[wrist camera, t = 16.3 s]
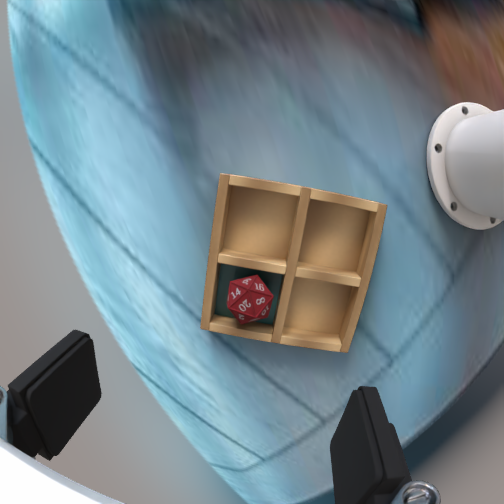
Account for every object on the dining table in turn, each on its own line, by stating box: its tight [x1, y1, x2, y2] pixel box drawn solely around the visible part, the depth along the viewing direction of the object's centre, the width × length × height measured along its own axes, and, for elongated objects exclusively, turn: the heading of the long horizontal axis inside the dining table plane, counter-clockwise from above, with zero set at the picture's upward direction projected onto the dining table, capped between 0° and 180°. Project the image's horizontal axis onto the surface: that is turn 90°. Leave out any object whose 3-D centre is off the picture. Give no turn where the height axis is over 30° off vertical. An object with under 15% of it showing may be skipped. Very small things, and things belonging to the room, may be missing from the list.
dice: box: [226, 275, 274, 325], centre depth 26 cm, size 4×4×4 cm
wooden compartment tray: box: [200, 173, 387, 353], centre depth 26 cm, size 14×14×3 cm
